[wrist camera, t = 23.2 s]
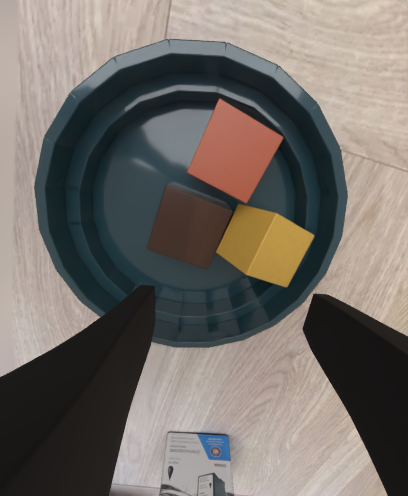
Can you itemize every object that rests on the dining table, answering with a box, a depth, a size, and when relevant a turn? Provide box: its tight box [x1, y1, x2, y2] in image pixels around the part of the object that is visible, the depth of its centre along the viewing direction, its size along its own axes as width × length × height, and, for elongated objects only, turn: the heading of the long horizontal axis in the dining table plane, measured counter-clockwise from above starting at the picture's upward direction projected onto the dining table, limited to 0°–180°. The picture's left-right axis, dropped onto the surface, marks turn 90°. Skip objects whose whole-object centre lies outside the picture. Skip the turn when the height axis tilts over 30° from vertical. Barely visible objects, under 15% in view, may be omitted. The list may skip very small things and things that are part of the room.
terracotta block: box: [187, 98, 283, 203], centre depth 13 cm, size 4×4×4 cm
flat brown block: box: [147, 183, 233, 269], centre depth 16 cm, size 2×5×5 cm
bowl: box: [34, 39, 348, 348], centre depth 15 cm, size 19×19×4 cm
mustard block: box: [216, 204, 314, 287], centre depth 15 cm, size 4×4×4 cm
